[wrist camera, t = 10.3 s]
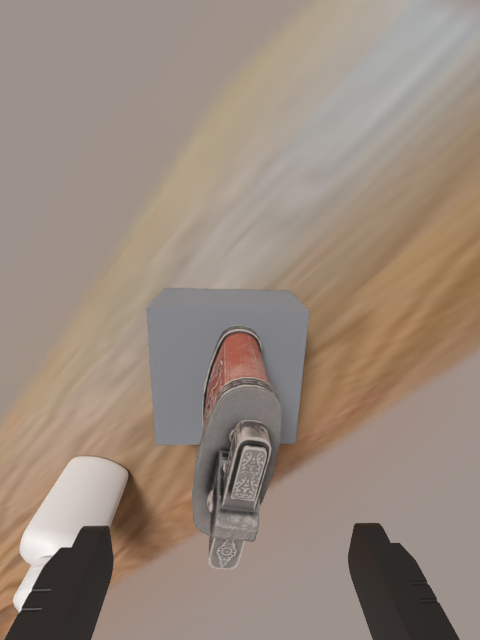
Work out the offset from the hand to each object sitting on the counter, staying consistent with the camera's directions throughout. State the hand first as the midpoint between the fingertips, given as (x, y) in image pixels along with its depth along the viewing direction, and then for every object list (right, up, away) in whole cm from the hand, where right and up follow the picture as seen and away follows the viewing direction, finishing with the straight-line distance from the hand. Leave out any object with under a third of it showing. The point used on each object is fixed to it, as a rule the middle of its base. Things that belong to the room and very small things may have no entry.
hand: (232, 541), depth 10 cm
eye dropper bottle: (-13, -7, +19) cm, 24 cm away
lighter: (0, +3, +10) cm, 11 cm away
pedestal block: (-1, +5, +16) cm, 17 cm away
